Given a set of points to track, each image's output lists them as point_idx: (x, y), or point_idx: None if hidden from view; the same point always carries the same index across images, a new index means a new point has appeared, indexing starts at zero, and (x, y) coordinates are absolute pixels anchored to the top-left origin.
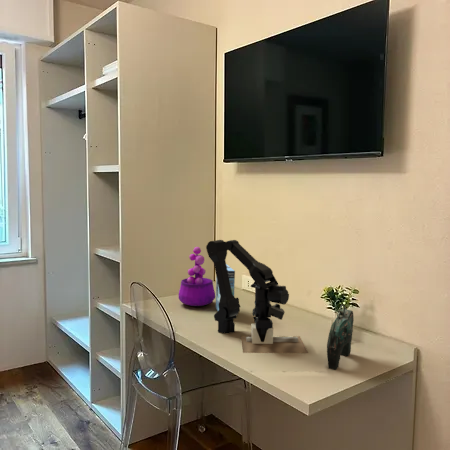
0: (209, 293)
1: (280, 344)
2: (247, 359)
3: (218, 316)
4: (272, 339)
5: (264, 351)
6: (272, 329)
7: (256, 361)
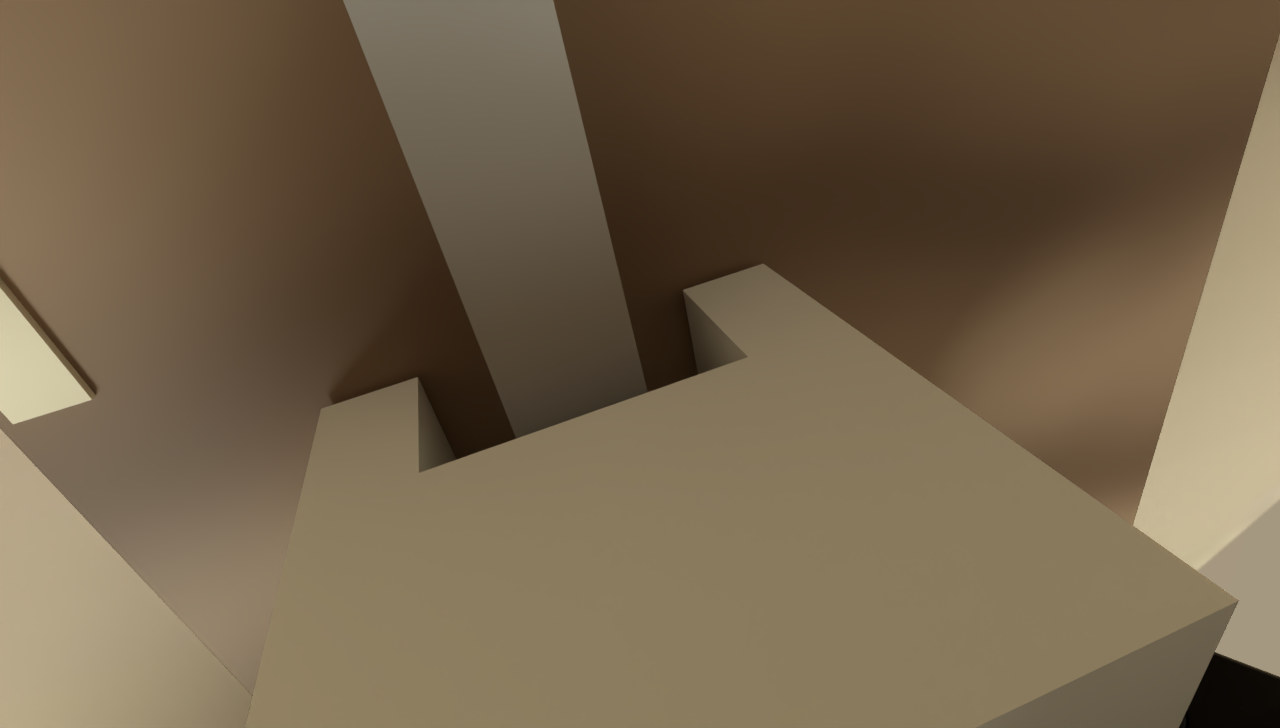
0: None
1: (764, 26)
2: (1185, 463)
3: None
4: (829, 327)
5: (1144, 331)
6: (1162, 583)
7: (1272, 348)
